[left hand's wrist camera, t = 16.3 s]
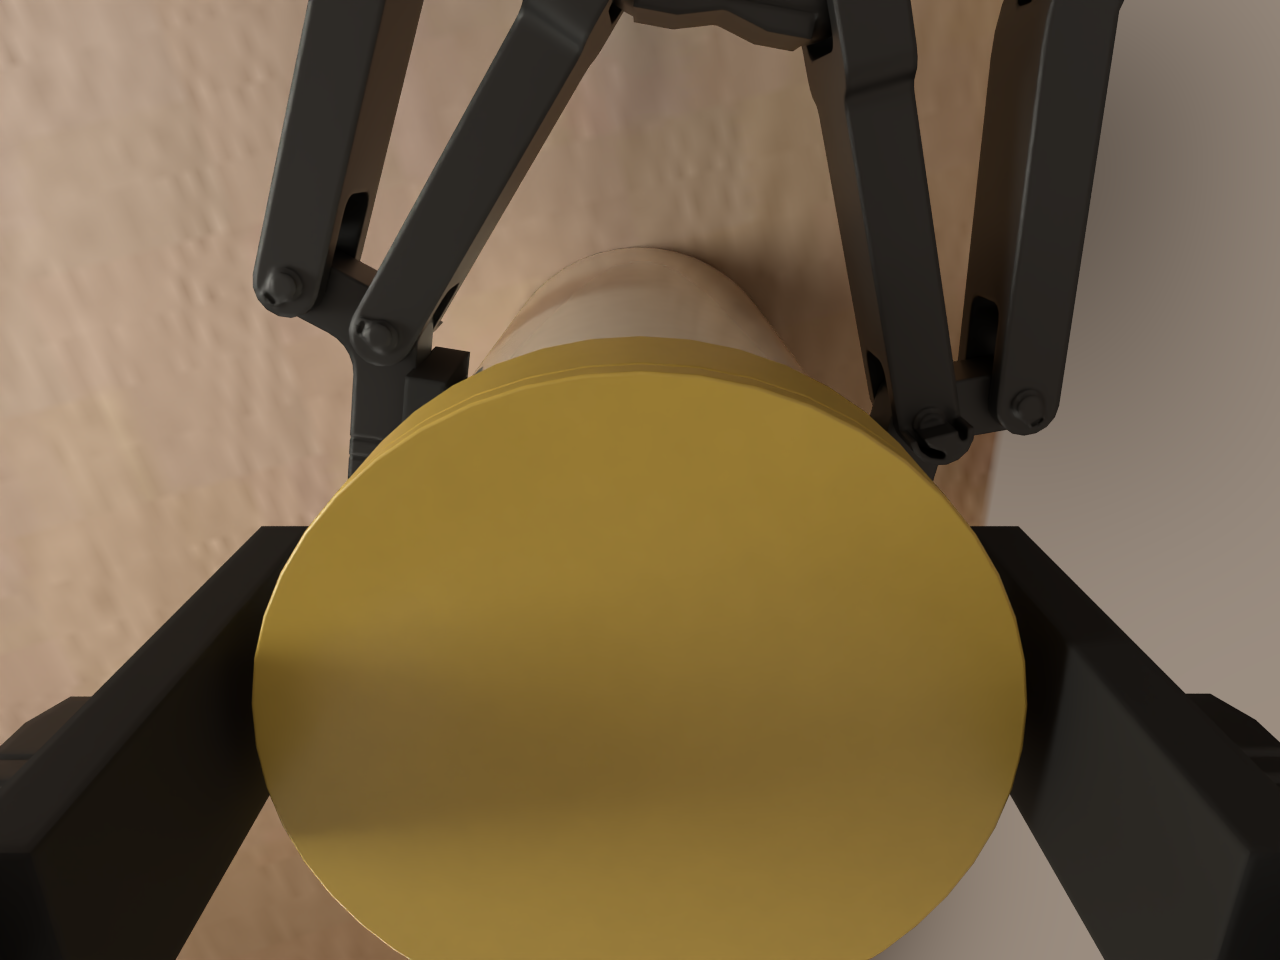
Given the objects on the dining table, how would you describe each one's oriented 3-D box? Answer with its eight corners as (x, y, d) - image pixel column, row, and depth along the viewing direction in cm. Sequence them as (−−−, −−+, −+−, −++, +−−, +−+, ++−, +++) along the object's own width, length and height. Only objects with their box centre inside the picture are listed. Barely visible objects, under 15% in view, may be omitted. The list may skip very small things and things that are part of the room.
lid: (390, 942, 14) (355, 1053, 12) (221, 384, 11) (144, 429, 9) (971, 885, 13) (1020, 992, 12) (974, 289, 10) (1040, 317, 9)
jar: (488, 247, 24) (264, 395, 10) (789, 246, 24) (1011, 393, 10) (505, 523, 27) (352, 953, 13) (774, 523, 27) (928, 952, 13)
